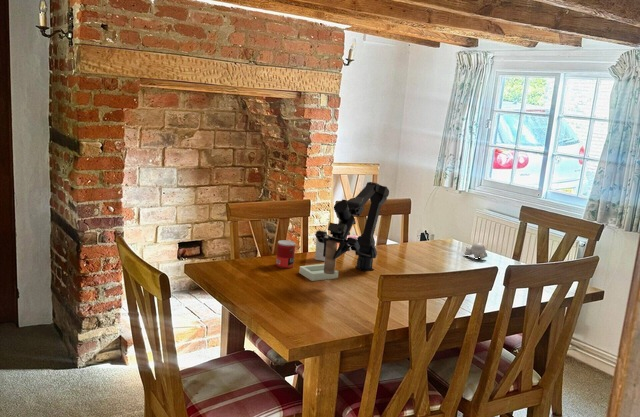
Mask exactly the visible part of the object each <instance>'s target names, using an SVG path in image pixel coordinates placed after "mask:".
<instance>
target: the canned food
mask: <svg viewBox="0 0 640 417" xmlns="http://www.w3.org/2000/svg"><path fill="white" fill-rule="evenodd" d="M276 246H277V248H276V260H275V261H276V262H275V264H276V267H278V268H281V269H292V268H293V267H294V265H295V256H296V255H295V252H296V242H294V241H293V240H286V239H283V240H282V239H281V240H280V239H279V240H278V241H277V244H276Z"/></svg>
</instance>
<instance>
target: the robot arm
mask: <svg viewBox="0 0 640 417" xmlns="http://www.w3.org/2000/svg"><path fill="white" fill-rule="evenodd" d="M389 195H390V190H389V188H388V187H387V186H385V185H381V184H379V183H378V182H373V181H367V182H366V185H365V186H364V187H363V188H362V190H360V192H359V193H357V195H356V196H355V197H352V198H350V199H348V200H347V199H343V198H342V199H341V200H340V201H338V202H336V203H335V204H334V206H333V210H334V212H335V214H336V216H337V219H338V220H339V221H338V223H334V222H329V224H328V227H327V231H329V233H330V234H328V233H327V232H326V231H324V230H320V229H318V230H317V231H316V232H315V234H314V235H315V237H316V238H317V240H318V241H319V242H320V243H324V251H323V256H324V257H325V252H326V241H328V240H333V241H337V244H338V246H337V251H336V253H335V255H334V257H333V259H334V260H335V259H336V260H337V259H338V258H339V257H340V256H342V255H344V254H345V253H346V252H350V251H353V252H355V256H358V257H357V260H356V265H355V268H356V269H358V270H360V271H361V272H366V271H367V272H368V271H374V270H375V268H373V261H374V259H376V258H377V256H378V251H377V248H376V245H375V244H376V240H375V238H374V235H375V231H376V226H377V224H378V221H379V215H380V213H381V212H380V211H381V208H382V206H383V205H384V203H386V201H387V199H388V196H389ZM368 201H370V205H369V209H368V213H367V216H366V222H365V224H364V229H363V233H362V234H361V235H358V236H357V238H355V237H351V236H350V235H351V232H350V231H351V230H352V227H353V225H357V223H356V218H355V217H360V216H361V215H362V214H363V213H364V210H365V207H364V206H365V205H366V204H367V202H368ZM329 235H331V236H329ZM348 236H349V237H348Z"/></svg>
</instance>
